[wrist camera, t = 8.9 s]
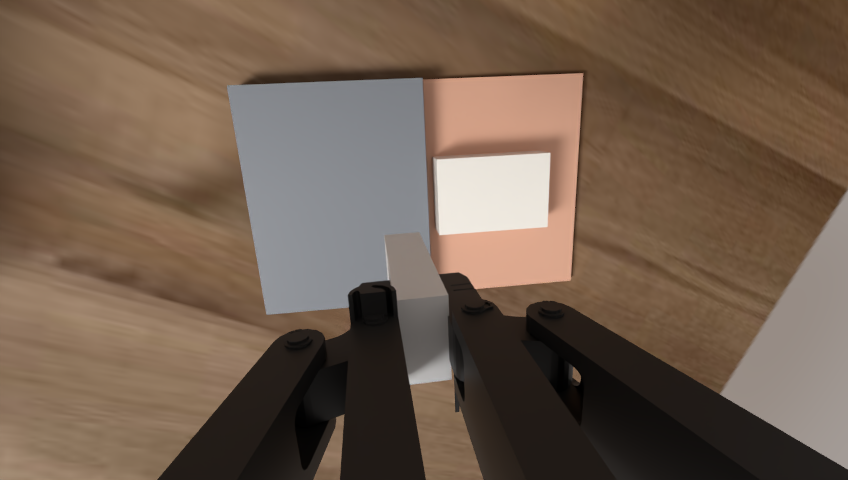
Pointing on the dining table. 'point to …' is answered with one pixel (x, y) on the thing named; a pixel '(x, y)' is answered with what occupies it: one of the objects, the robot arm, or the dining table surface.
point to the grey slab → (329, 183)
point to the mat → (498, 133)
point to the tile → (491, 191)
